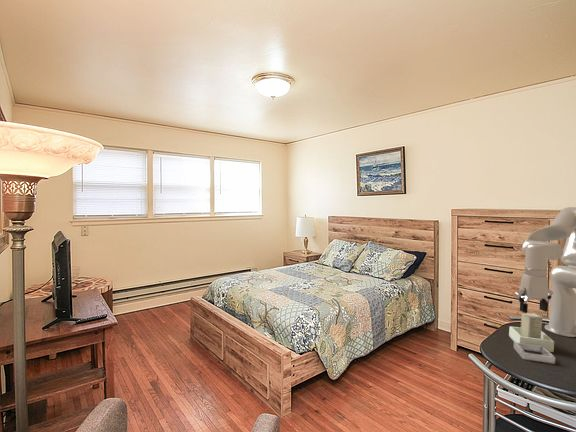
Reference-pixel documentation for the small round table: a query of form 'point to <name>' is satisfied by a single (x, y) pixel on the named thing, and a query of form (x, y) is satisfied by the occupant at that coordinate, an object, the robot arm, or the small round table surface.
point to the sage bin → (531, 339)
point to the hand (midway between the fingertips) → (533, 311)
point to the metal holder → (546, 356)
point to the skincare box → (531, 325)
